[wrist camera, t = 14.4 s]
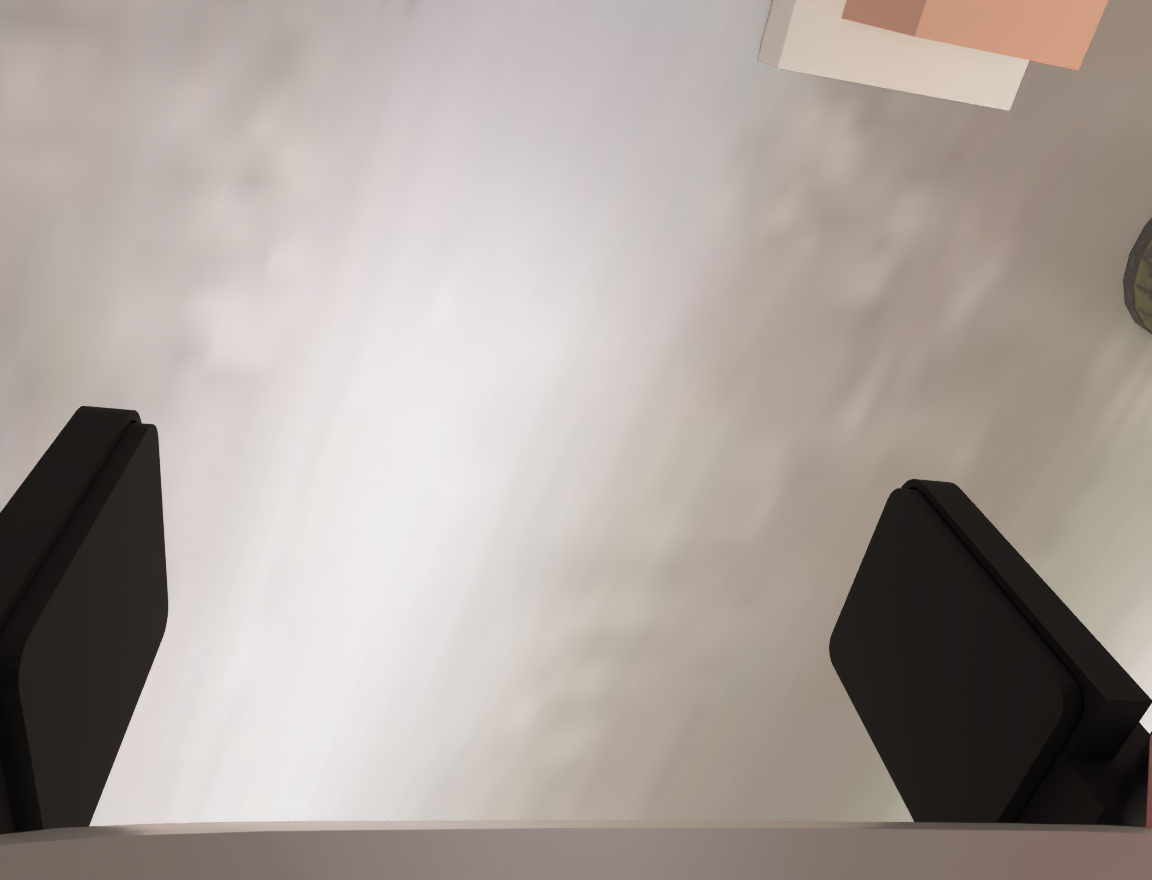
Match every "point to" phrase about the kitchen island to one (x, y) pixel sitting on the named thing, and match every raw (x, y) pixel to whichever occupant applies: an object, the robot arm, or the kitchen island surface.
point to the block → (884, 56)
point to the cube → (992, 25)
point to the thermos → (1140, 280)
